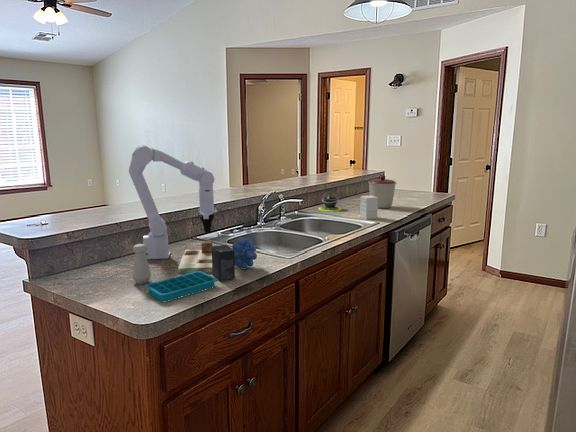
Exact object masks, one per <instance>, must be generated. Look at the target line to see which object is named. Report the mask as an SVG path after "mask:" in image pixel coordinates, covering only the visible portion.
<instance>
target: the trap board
mask: <svg viewBox="0 0 576 432" xmlns="http://www.w3.org/2000/svg"><path fill="white" fill-rule="evenodd" d="M196 271H202V272H204V273H206V274H208V273H209V274H210V273H211V274H212V253H202V249H185V250H184V252H183V254H182V257H181V260H180V262H179V265H178V268H177V272H178V275H179V274H180V275H185V274H189V273H193V272H196Z"/></svg>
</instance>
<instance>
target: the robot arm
mask: <svg viewBox="0 0 576 432" xmlns="http://www.w3.org/2000/svg"><path fill="white" fill-rule="evenodd" d="M152 161H153V163H154V162H162V163H164V164H167V165H168V166H171V167H174V168H176V169H177V170H179V173H180V175H182V176H184V177H187V178H189V179H191V180H193V181H195V182H198V185H199V186H198V197H199V199H198V200H199V211H198V213H199V214H200V216H199V219H200V221H201V223H202V226H203V231H204V234H209V233H211V232H212V231H211V230H212V226H213V225H212V224H213V220H214V219H215V214H214V213H217V212H218V210H217V209H215V203H214V202H215V201H214V198H215V197H214V185H213V184H214V182H215V177H214V175H213V173H212V172H211V171H208V170H207V169H205V167H204V166H203V167H200V166H198V165H196V164H195V162H193V161H191V160H190V161H181V160H179V159H176V158H175V157H173V156H171V155H169V154H167V153H166V152H164V151H161V150H159V149H156V148H152V147H151V148H150V147H149V146H147V145H144V144H143V145H138V146H137V147H136V148H135V149H134V151H133V152H132V155H131V160H130V164H129V168H128V173H129V176H130V179H131V182H132V184H133V186H134V187H135V188H134V189H135V190H136V193H137V195H138V198H139V199H140V202H141V204H142V207H143V210H144V211H145V212H144V213H145V214H146V217H147V219H148V227H149V230H150V232H149V233H148V234H147V235H146V234H145V235H143V236H142V237H143V238H142V244H145V245H146V247H147V251H146V252H145V253H146V257H147V260H163V259H166V260H169V258H170V256H171V255H172V252H171V251H170V250H169V237H168V236H169V234H168V232H167V230H168V226H167V224H166V223H165V219H164V218H163V217H161V216H160V214H159V211H158V208H157V205H156V203H155V202H154V198H153V195H152V193H151V191H150V188H149V186H148V184H147V182H146V179H145V176H144V174H143V172H144V171H145V169H146V167H147V165H149V164H150V162H152Z"/></svg>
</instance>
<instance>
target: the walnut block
mask: <svg viewBox="0 0 576 432" xmlns="http://www.w3.org/2000/svg"><path fill="white" fill-rule="evenodd" d="M200 245H201V250H202V253H212V246H213V240H202V241H201V244H200Z"/></svg>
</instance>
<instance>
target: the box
mask: <svg viewBox="0 0 576 432" xmlns="http://www.w3.org/2000/svg"><path fill="white" fill-rule="evenodd" d="M234 251H235V250H234V249H233V248H232V246H229V245H227V244H221V245H220V244H219V245H212V273H211V274H212V275H211V276H213V277H215V278H217V281H219V282H223V281H224V280H226V281H230V280H229V279H231V280H235V279H236V268H235V267H236V265H235V252H234ZM234 278H235V279H234Z"/></svg>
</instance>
